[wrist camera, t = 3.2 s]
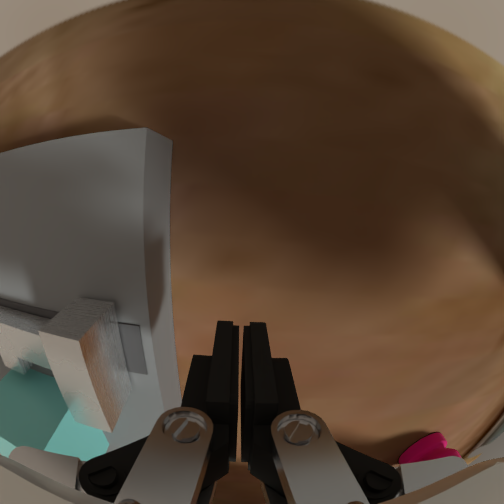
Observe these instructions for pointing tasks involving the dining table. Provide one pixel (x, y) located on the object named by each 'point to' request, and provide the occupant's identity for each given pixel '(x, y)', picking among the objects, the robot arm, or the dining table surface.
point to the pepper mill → (428, 450)
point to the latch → (73, 356)
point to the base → (97, 251)
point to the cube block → (43, 418)
